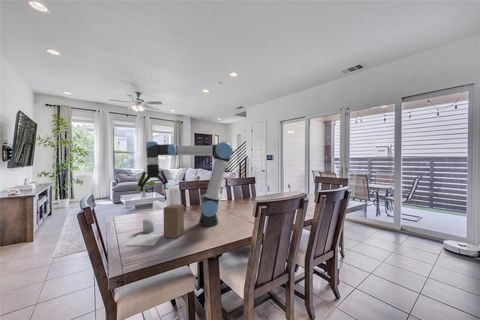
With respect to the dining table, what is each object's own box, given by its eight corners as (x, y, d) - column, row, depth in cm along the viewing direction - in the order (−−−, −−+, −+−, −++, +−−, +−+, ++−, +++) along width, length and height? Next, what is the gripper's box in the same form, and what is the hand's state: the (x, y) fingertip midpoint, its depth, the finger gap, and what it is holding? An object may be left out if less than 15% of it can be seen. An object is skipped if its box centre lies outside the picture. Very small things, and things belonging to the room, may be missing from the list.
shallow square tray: (162, 235, 137) (162, 233, 137) (154, 245, 121) (154, 244, 121) (137, 235, 136) (137, 234, 136) (126, 246, 120) (126, 244, 120)
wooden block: (177, 239, 131) (176, 208, 130) (163, 237, 133) (162, 207, 132) (184, 233, 141) (184, 204, 140) (171, 232, 143) (171, 203, 142)
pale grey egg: (155, 229, 148) (155, 218, 148) (151, 233, 141) (151, 221, 141) (145, 229, 148) (145, 218, 147) (141, 233, 141) (141, 221, 140)
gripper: (167, 163, 152) (168, 191, 152) (131, 164, 134) (132, 197, 134) (172, 163, 147) (173, 192, 147) (135, 165, 129) (136, 198, 129)
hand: (153, 194), depth 141 cm, fingers open, 13 cm apart
